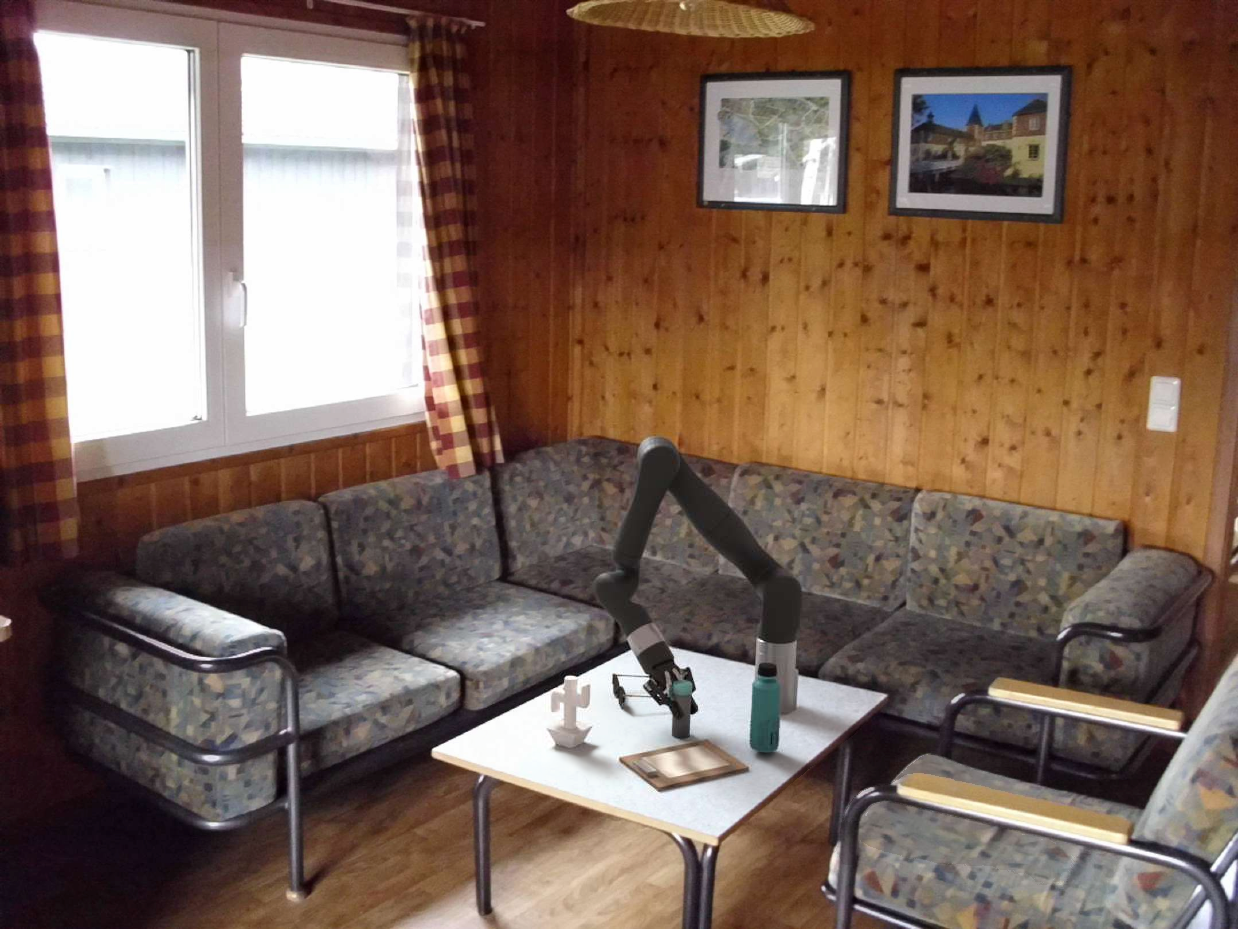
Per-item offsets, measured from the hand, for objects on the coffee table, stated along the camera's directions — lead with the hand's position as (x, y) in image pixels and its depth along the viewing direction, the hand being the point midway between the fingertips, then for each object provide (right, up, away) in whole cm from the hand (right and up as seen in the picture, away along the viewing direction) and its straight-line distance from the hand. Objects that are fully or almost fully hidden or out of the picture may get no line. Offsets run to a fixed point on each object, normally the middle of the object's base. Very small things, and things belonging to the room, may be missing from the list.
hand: (688, 715), depth 295 cm
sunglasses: (-8, -1, +23) cm, 24 cm away
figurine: (-26, -6, -3) cm, 27 cm away
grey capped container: (-2, -5, +2) cm, 6 cm away
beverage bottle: (+16, -7, -6) cm, 18 cm away
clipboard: (-2, -8, -13) cm, 16 cm away
